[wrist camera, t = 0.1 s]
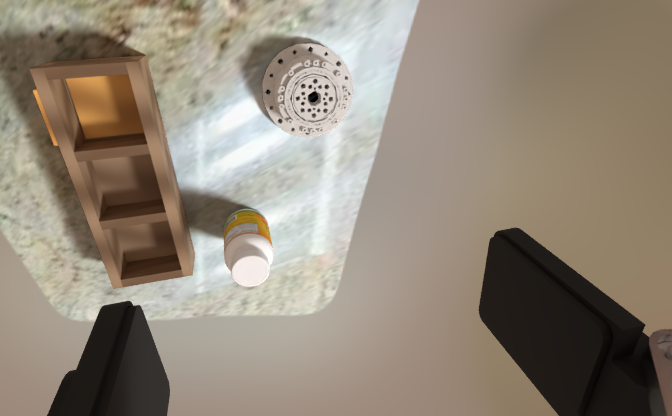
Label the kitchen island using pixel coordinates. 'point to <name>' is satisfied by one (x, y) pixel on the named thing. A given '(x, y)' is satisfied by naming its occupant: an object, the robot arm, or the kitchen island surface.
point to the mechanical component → (307, 90)
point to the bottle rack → (118, 164)
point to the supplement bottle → (247, 247)
